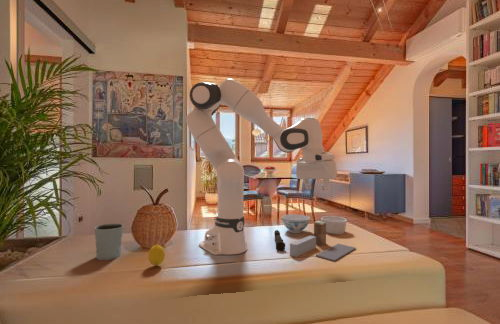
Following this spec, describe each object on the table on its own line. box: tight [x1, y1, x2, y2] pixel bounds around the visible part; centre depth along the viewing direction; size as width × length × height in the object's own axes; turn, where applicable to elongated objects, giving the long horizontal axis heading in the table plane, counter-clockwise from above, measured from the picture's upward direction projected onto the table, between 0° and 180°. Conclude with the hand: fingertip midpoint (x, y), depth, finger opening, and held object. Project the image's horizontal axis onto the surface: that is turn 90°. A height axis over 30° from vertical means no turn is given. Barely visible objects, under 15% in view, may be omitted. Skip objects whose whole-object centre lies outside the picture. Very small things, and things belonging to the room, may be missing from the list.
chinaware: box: [281, 213, 311, 234], centre depth 147 cm, size 15×15×8 cm
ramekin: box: [320, 215, 348, 235], centre depth 147 cm, size 13×13×7 cm
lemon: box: [148, 243, 166, 267], centre depth 100 cm, size 6×6×8 cm
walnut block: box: [313, 220, 327, 246], centre depth 126 cm, size 4×4×10 cm
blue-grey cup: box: [94, 223, 124, 261], centre depth 109 cm, size 10×10×12 cm
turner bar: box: [289, 235, 317, 258], centre depth 116 cm, size 3×16×5 cm, turn 138°
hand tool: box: [274, 229, 286, 252], centre depth 126 cm, size 19×4×5 cm, turn 178°
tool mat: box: [315, 243, 357, 262], centre depth 115 cm, size 8×20×1 cm, turn 137°
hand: (316, 189), depth 115 cm, fingers open, 8 cm apart
